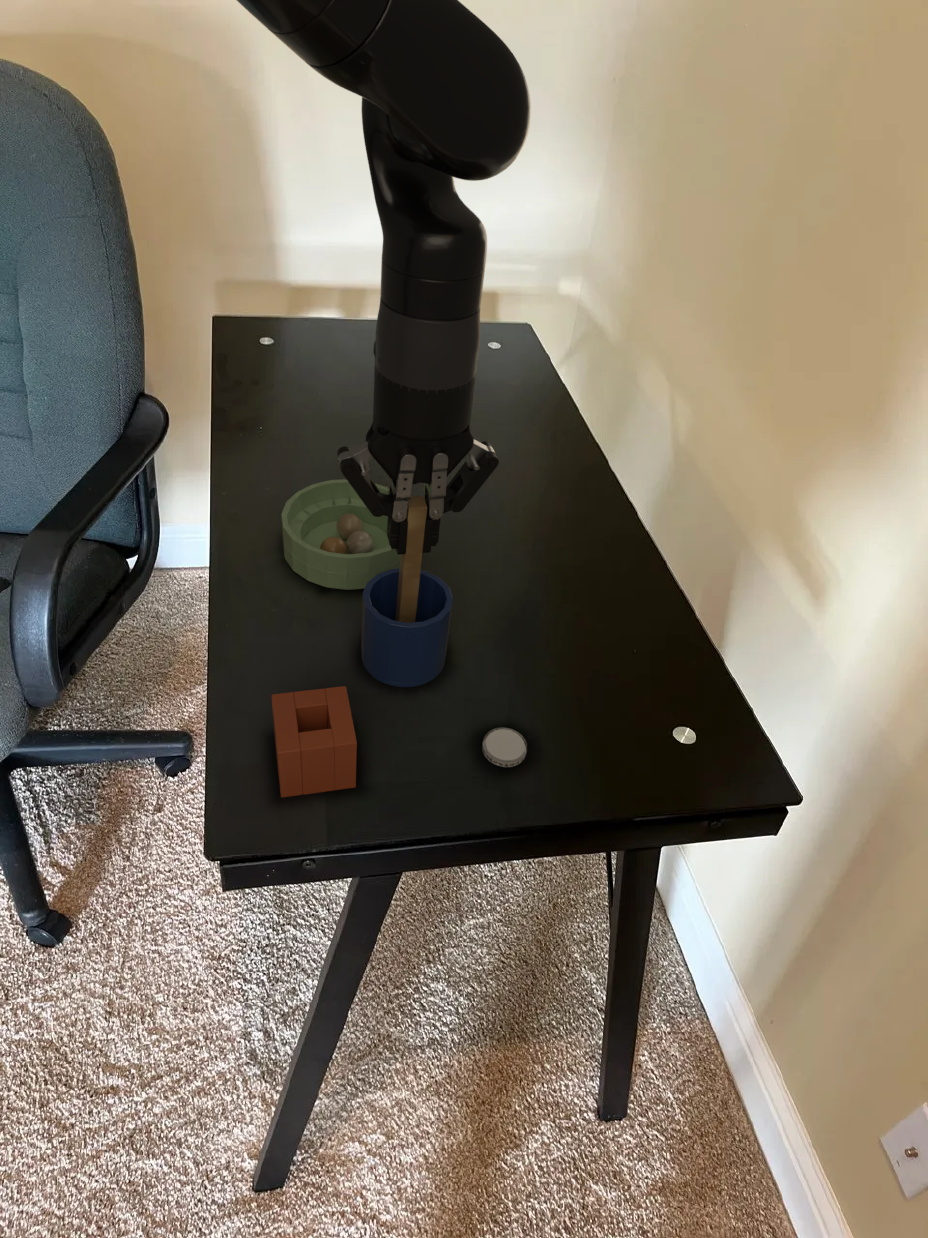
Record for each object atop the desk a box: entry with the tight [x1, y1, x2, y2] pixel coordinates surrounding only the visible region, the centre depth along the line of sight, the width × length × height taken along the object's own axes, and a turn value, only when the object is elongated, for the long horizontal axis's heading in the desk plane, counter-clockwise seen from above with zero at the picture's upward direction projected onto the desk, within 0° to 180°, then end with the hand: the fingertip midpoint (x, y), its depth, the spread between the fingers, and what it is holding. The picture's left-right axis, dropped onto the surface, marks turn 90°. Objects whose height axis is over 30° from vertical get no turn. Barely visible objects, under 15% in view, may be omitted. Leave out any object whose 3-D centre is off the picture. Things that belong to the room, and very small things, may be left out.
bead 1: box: [320, 537, 348, 554], centre depth 89 cm, size 3×3×3 cm
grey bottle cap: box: [481, 727, 528, 768], centre depth 74 cm, size 4×4×1 cm
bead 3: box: [346, 530, 374, 554], centre depth 91 cm, size 3×3×3 cm
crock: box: [360, 568, 454, 688], centre depth 79 cm, size 8×8×8 cm
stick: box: [395, 495, 427, 623], centre depth 74 cm, size 2×2×16 cm
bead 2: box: [336, 513, 363, 540], centre depth 93 cm, size 3×3×3 cm
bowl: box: [280, 478, 401, 591], centre depth 91 cm, size 14×14×5 cm
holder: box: [270, 685, 358, 799], centre depth 69 cm, size 6×6×6 cm
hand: (412, 547), depth 72 cm, fingers closed on stick, 1 cm apart
